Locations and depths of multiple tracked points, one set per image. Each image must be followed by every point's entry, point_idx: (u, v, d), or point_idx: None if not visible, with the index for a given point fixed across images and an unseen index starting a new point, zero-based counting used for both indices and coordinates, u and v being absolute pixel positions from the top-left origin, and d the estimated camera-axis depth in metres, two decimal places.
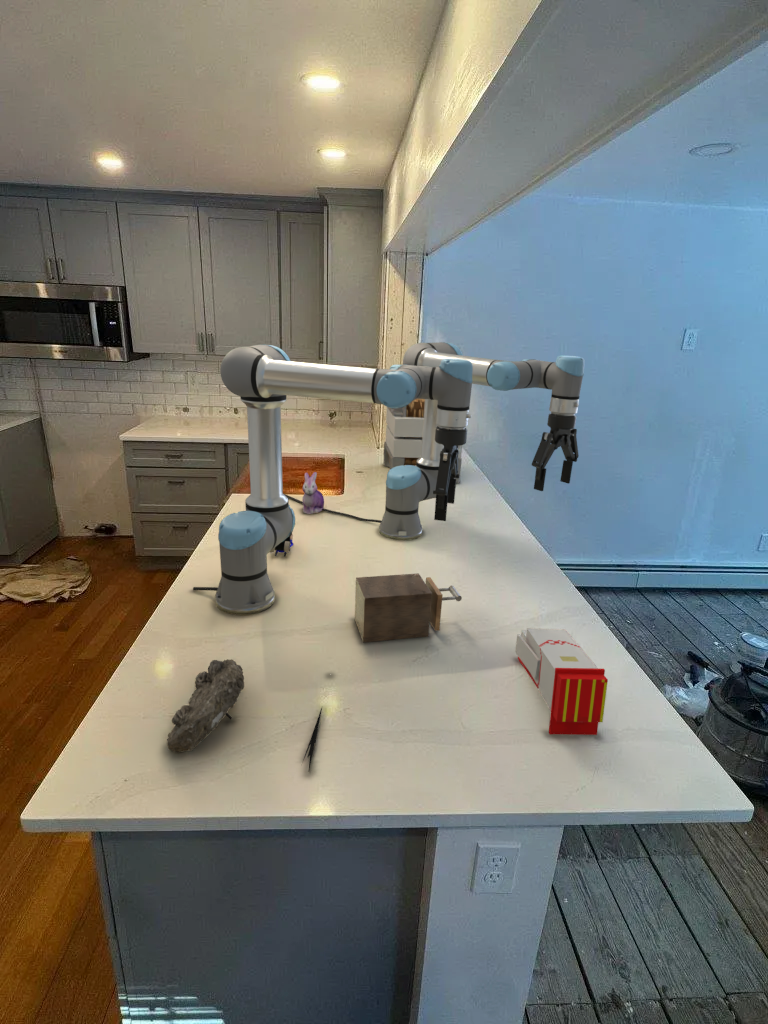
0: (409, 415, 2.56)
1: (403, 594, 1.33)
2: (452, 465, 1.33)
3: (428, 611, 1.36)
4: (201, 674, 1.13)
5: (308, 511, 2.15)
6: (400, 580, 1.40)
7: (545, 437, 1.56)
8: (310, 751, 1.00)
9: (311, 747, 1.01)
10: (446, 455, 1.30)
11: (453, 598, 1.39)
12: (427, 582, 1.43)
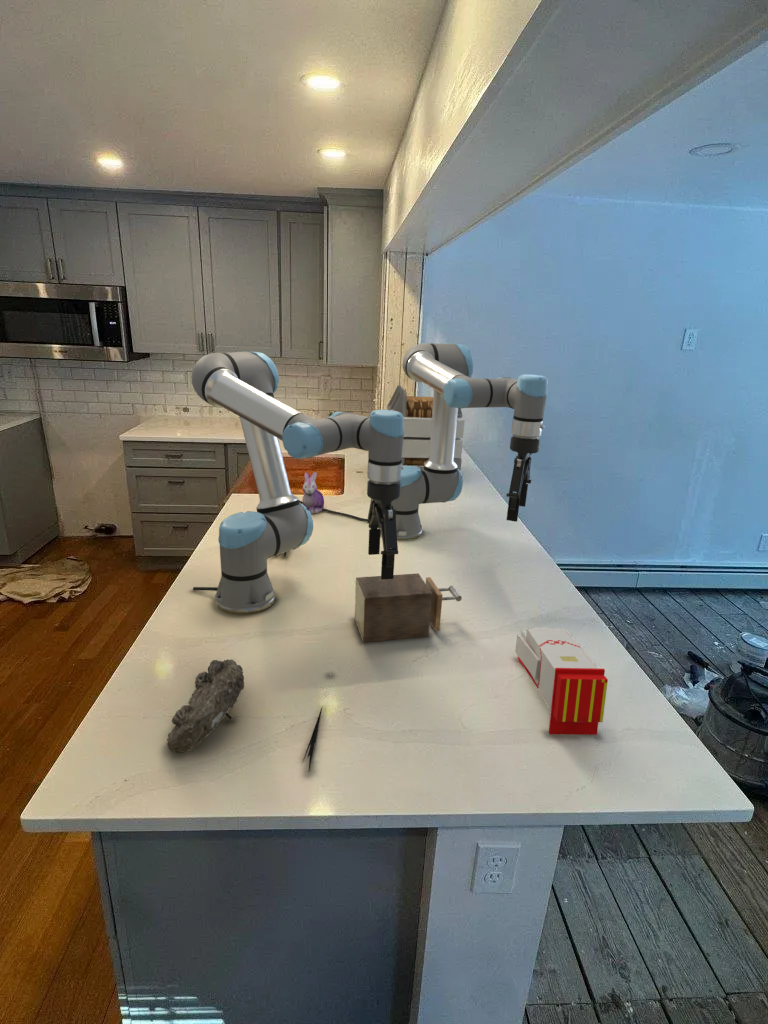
0: (409, 415, 2.56)
1: (403, 594, 1.33)
2: None
3: (428, 611, 1.36)
4: (201, 674, 1.13)
5: None
6: (400, 580, 1.40)
7: (518, 464, 1.43)
8: (310, 751, 1.00)
9: (311, 747, 1.01)
10: (391, 512, 1.23)
11: (453, 598, 1.39)
12: (427, 582, 1.43)
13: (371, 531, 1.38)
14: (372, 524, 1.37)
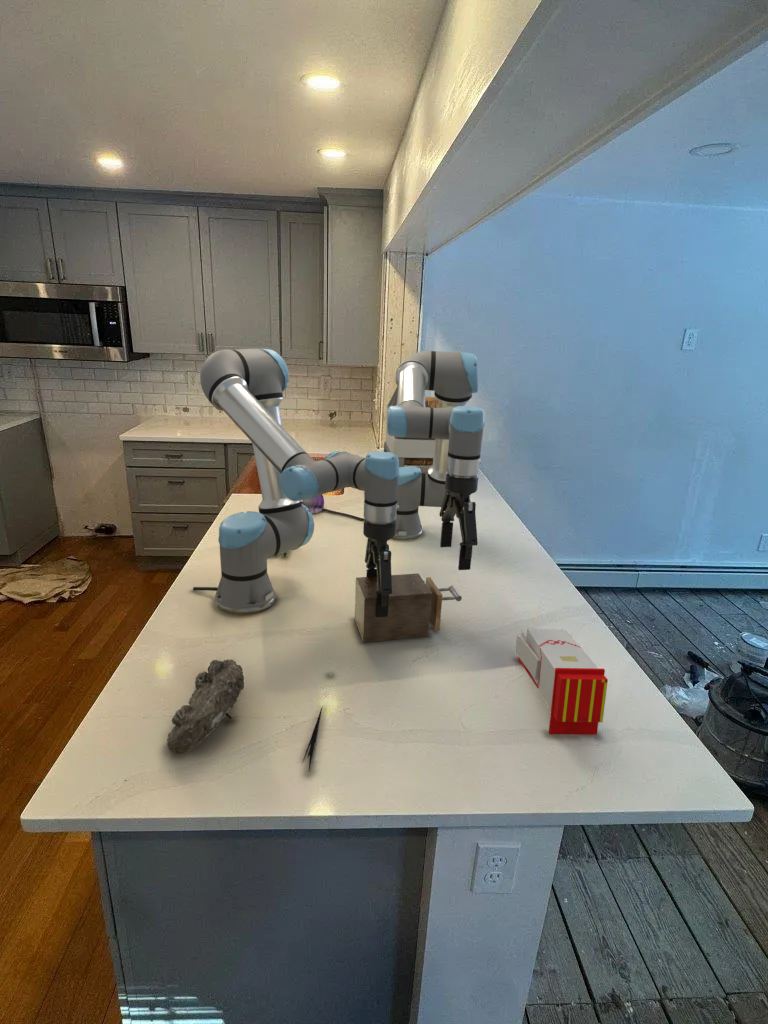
0: None
1: (403, 594, 1.33)
2: None
3: (428, 611, 1.36)
4: (201, 674, 1.13)
5: None
6: (400, 580, 1.40)
7: (470, 508, 1.28)
8: (310, 751, 1.00)
9: (311, 747, 1.01)
10: (387, 554, 1.26)
11: (453, 598, 1.39)
12: (427, 582, 1.43)
13: (368, 571, 1.40)
14: (369, 564, 1.39)
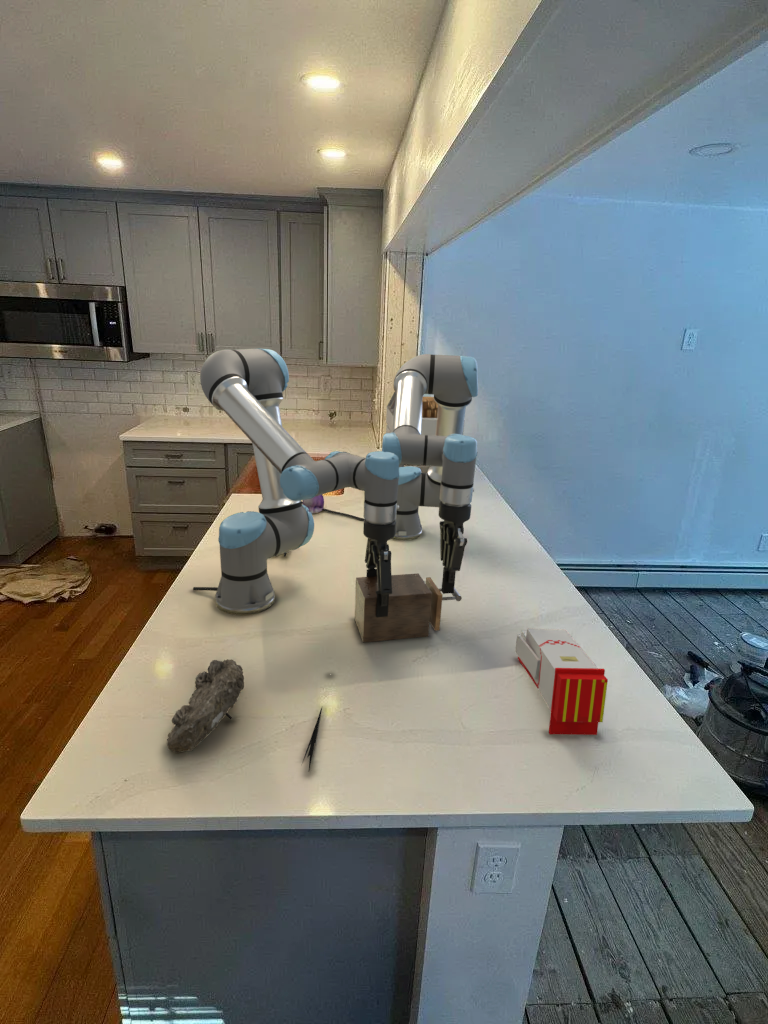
0: None
1: (403, 594, 1.33)
2: None
3: (428, 611, 1.36)
4: (201, 674, 1.13)
5: None
6: (400, 580, 1.40)
7: (460, 544, 1.31)
8: (310, 751, 1.00)
9: (311, 747, 1.01)
10: (387, 554, 1.26)
11: (453, 598, 1.39)
12: (427, 582, 1.43)
13: (368, 571, 1.40)
14: (369, 564, 1.39)
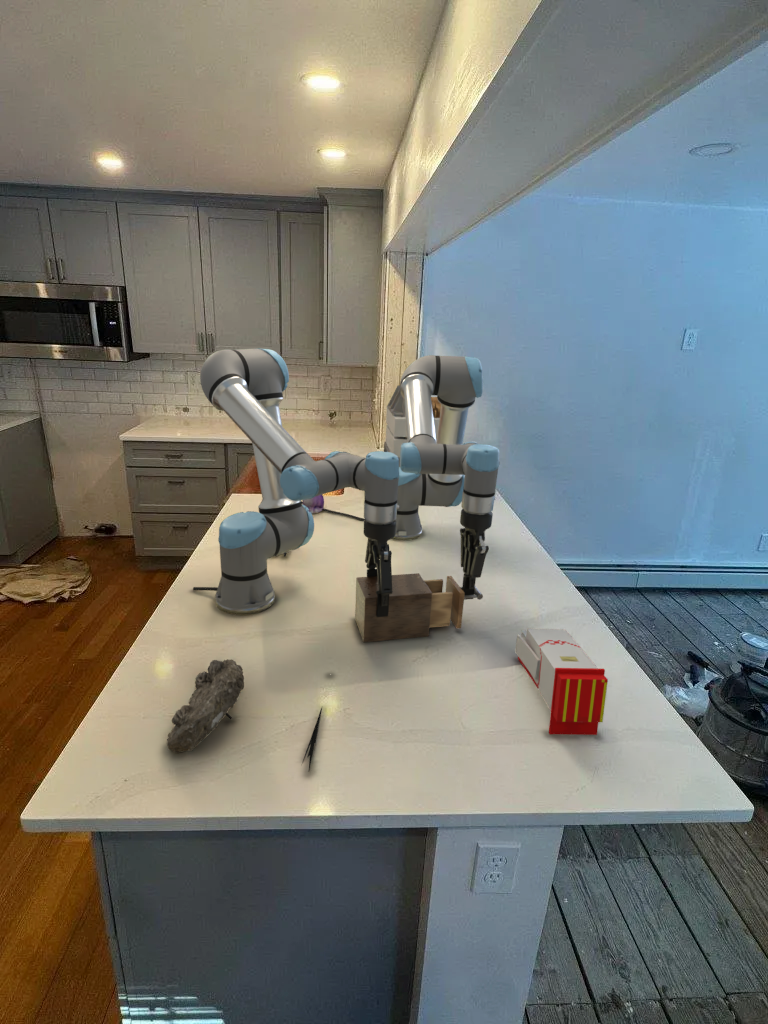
0: None
1: (403, 594, 1.33)
2: None
3: (428, 611, 1.36)
4: (201, 674, 1.13)
5: None
6: (400, 580, 1.40)
7: (482, 552, 1.33)
8: (310, 751, 1.00)
9: (311, 747, 1.01)
10: (387, 554, 1.26)
11: (474, 596, 1.41)
12: (448, 580, 1.44)
13: (369, 571, 1.40)
14: (370, 563, 1.39)
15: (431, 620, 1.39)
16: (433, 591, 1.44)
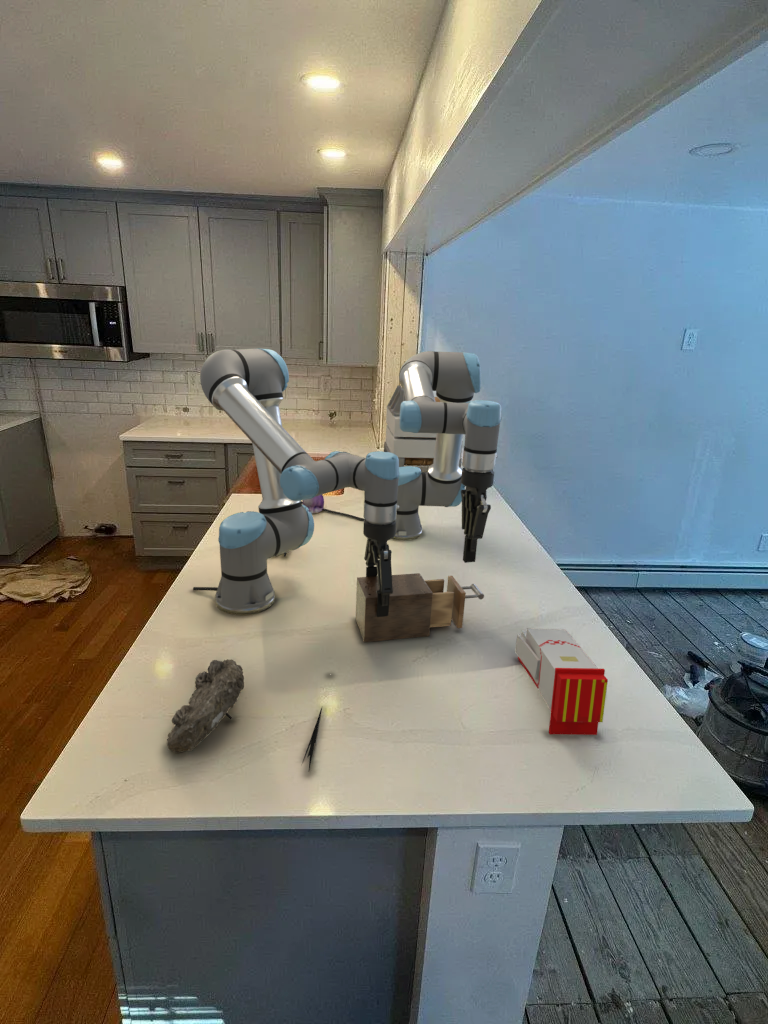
0: None
1: (404, 594, 1.33)
2: None
3: (429, 611, 1.36)
4: (201, 674, 1.13)
5: None
6: (401, 580, 1.40)
7: (484, 511, 1.29)
8: (310, 751, 1.00)
9: (311, 747, 1.01)
10: (387, 553, 1.26)
11: (475, 596, 1.41)
12: (449, 580, 1.44)
13: (368, 569, 1.41)
14: (369, 562, 1.40)
15: (432, 620, 1.39)
16: (434, 591, 1.44)
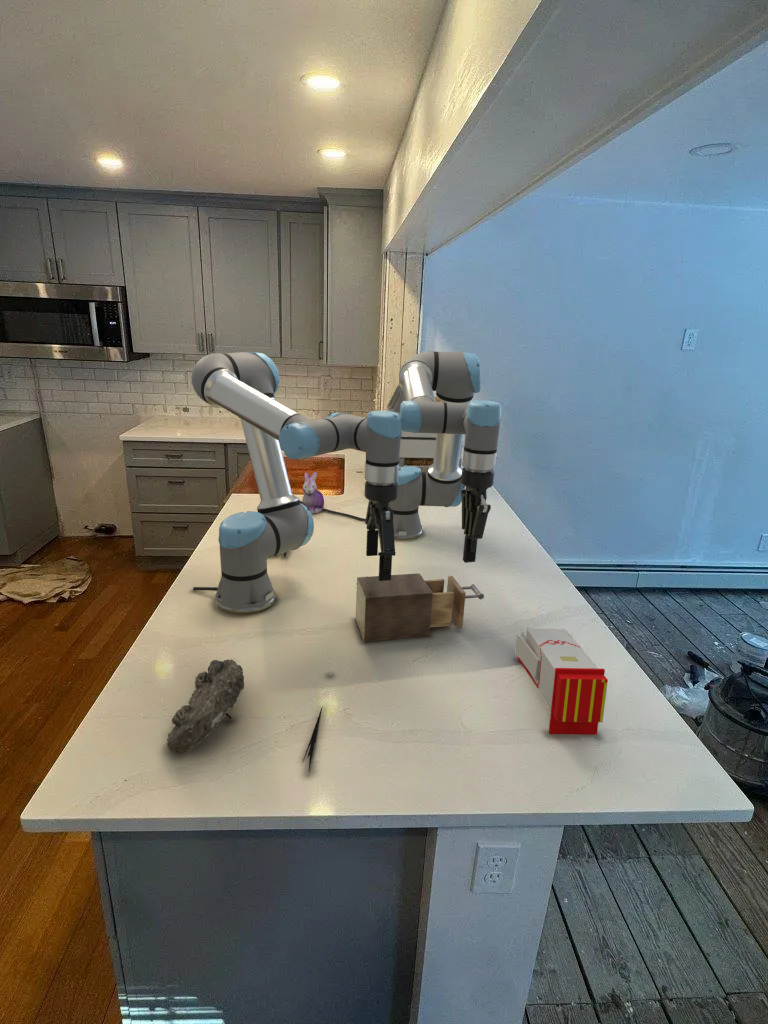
0: None
1: (404, 594, 1.33)
2: None
3: (429, 611, 1.36)
4: (201, 674, 1.13)
5: None
6: (401, 580, 1.40)
7: (484, 511, 1.29)
8: (310, 751, 1.00)
9: (311, 747, 1.01)
10: (388, 514, 1.23)
11: (476, 596, 1.41)
12: (449, 580, 1.44)
13: (369, 532, 1.38)
14: (370, 525, 1.37)
15: (432, 620, 1.39)
16: (434, 591, 1.44)
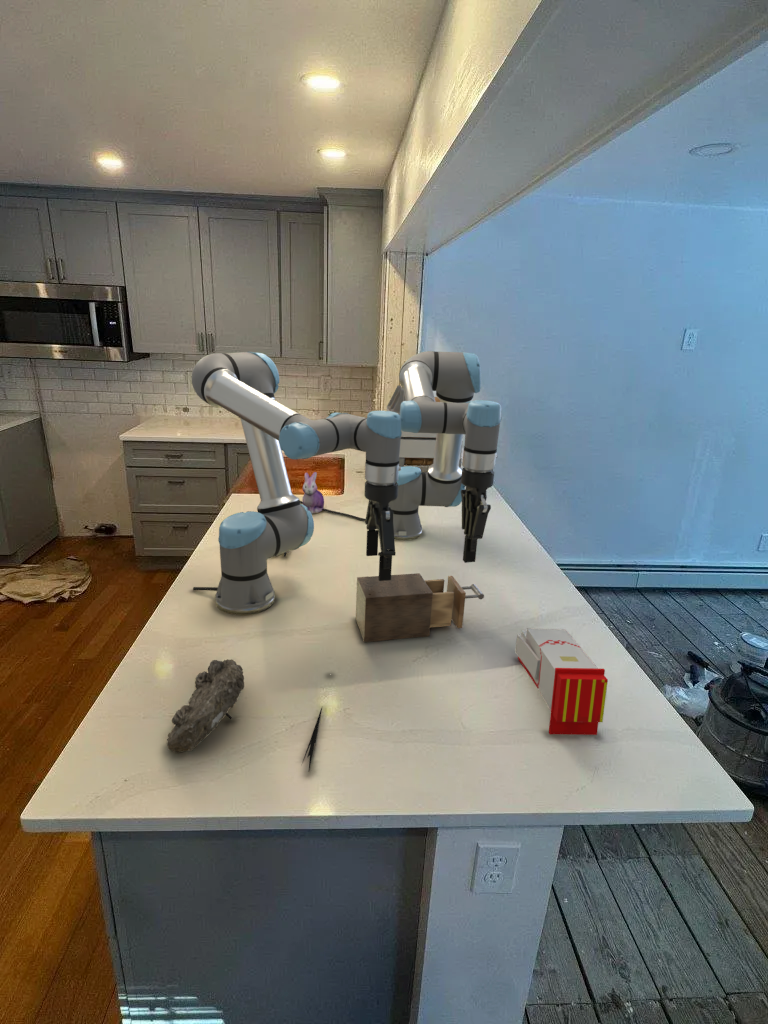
0: None
1: (404, 594, 1.33)
2: None
3: (429, 611, 1.36)
4: (201, 674, 1.13)
5: None
6: (401, 580, 1.40)
7: (484, 511, 1.29)
8: (310, 751, 1.00)
9: (311, 747, 1.01)
10: (388, 514, 1.23)
11: (476, 596, 1.41)
12: (449, 580, 1.44)
13: (369, 532, 1.38)
14: (370, 525, 1.37)
15: (432, 620, 1.39)
16: (434, 591, 1.44)
